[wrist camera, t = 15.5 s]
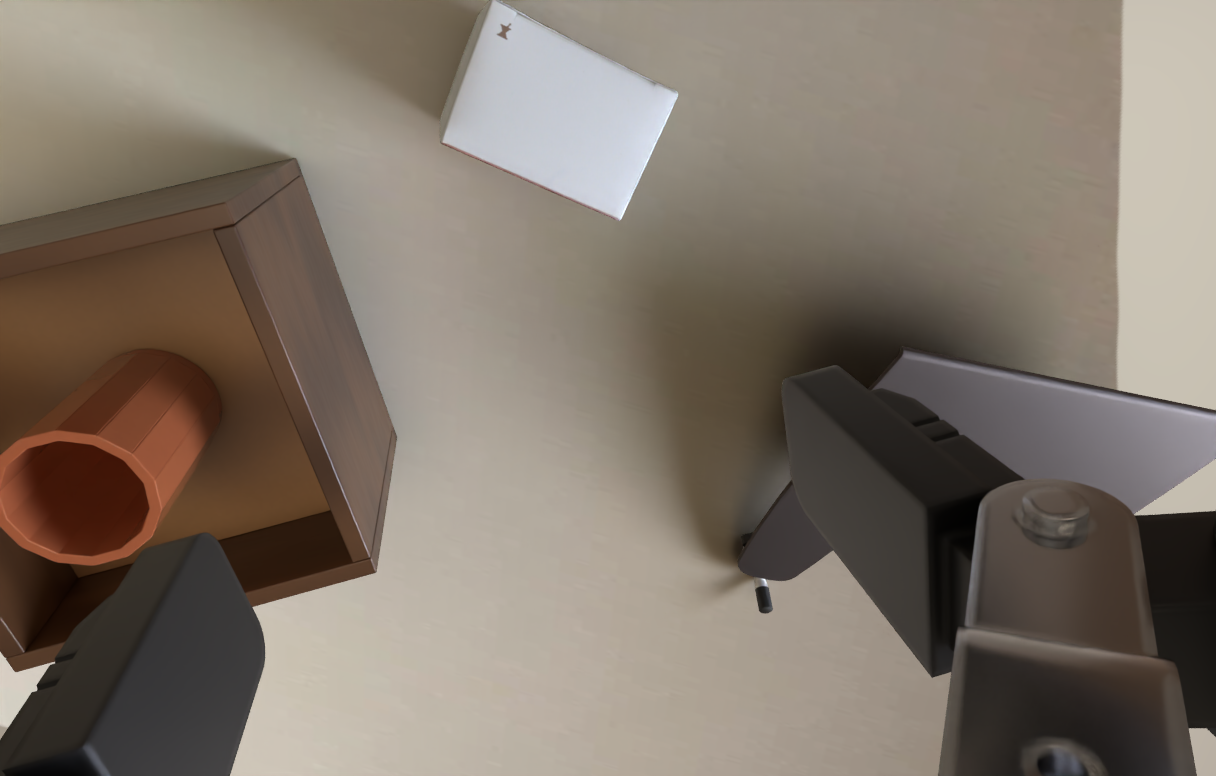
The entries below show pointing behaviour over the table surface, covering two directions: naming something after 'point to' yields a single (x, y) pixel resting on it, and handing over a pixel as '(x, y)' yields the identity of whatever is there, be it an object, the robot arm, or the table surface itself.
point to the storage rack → (230, 356)
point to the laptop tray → (1015, 445)
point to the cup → (109, 459)
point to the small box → (553, 111)
